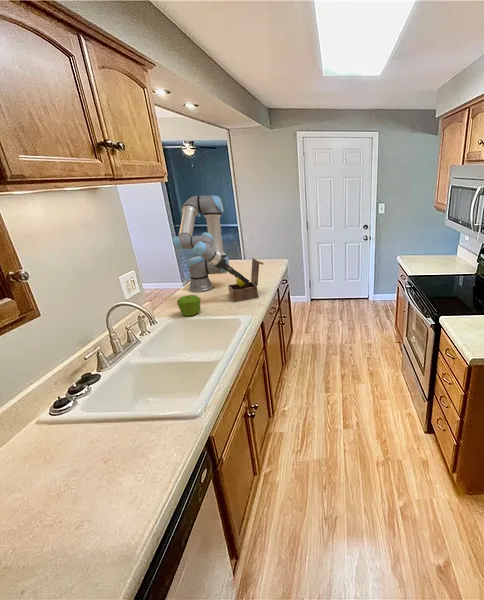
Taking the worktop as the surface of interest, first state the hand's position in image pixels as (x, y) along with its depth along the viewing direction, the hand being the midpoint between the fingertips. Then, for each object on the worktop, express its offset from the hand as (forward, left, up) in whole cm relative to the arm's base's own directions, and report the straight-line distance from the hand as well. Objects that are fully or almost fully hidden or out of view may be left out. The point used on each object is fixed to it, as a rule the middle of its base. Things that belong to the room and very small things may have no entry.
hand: (245, 280), depth 219 cm
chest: (+1, -2, -11) cm, 11 cm away
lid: (+1, +7, +6) cm, 9 cm away
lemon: (+1, -3, -4) cm, 5 cm away
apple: (+15, -36, -11) cm, 41 cm away
